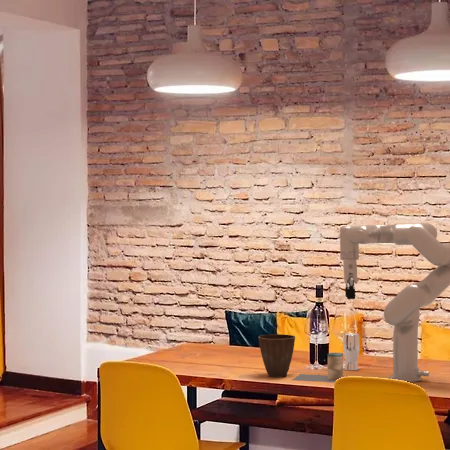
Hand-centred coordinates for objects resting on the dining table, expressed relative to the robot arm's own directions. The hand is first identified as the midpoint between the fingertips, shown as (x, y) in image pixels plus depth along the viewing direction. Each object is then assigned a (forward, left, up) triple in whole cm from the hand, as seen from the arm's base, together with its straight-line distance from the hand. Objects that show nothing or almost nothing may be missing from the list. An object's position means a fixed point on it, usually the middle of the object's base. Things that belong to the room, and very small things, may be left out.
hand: (350, 298), depth 403 cm
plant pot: (+28, +13, -31) cm, 44 cm away
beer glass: (+2, -10, -31) cm, 33 cm away
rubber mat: (+8, +17, -31) cm, 36 cm away
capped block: (+3, +17, -31) cm, 35 cm away
